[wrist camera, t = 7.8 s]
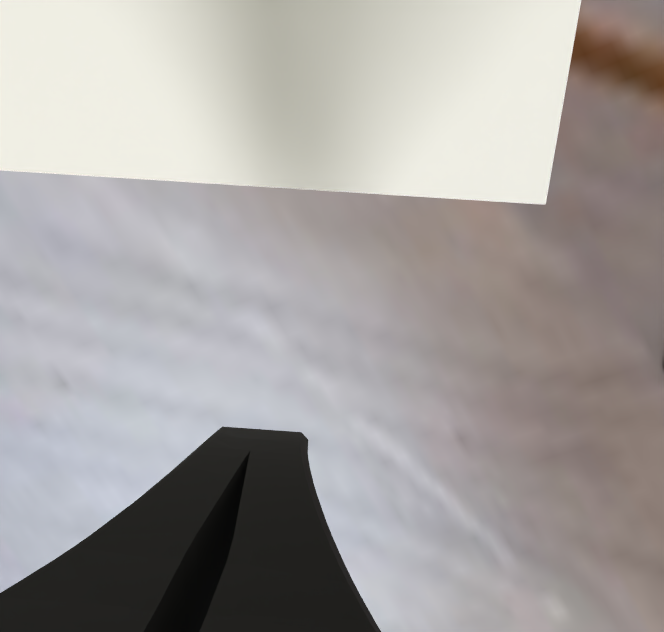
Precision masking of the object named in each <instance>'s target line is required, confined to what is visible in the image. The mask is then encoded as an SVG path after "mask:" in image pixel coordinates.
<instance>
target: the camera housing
mask: <svg viewBox="0 0 664 632" xmlns="http://www.w3.org/2000/svg"><path fill="white" fill-rule="evenodd" d="M580 4H581V0H0V170H3V171H19V172H35V173H51V174H67V175H83V176H99V177H115V178H131V179H147V180H163V181H178V182H194V183H210V184H226V185H242V186H258V187H274V188H290V189H306V190H322V191H338V192H354V193H370V194H386V195H402V196H417V197H433V198H449V199H465V200H481V201H497V202H513V203H529V204H546V199H547V193H548V187H549V182H550V176H551V170H552V164H553V159H554V153H555V147H556V142H557V136H558V130H559V124H560V119H561V113H562V107H563V101H564V96H565V90H566V84H567V79H568V73H569V67H570V61H571V56H572V50H573V44H574V39H575V33H576V27H577V21H578V16H579V10H580Z"/></svg>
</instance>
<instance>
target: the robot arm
mask: <svg viewBox="0 0 664 632" xmlns="http://www.w3.org/2000/svg"><path fill="white" fill-rule="evenodd" d="M307 452H308V439H307V438H306V437H305V436H304V435H303V434H302V433H301V432H289V431H275V430H261V429H247V428H233V427H222V428H220V429H219V430H218V431H217V432H215V433H214V434H213V435H212V436H211V437H210V438H208V439H207V440H206V441H205V442H204V443H203V444H202V445H200V446H199V447H198V448H197V449H196V450H195V451H194V452H193V453H191V454H190V455H189V456H188V457H187V458H186V459H185V460H184V461H182V462H181V463H180V464H179V465H178V466H177V467H176V468H174V469H173V470H172V471H171V472H170V473H169V474H167V475H166V476H165V477H164V478H163V479H162V480H160V481H159V482H158V483H157V484H156V485H154V486H153V487H152V488H151V489H150V490H148V491H147V492H146V493H145V494H144V495H142V496H141V497H140V498H139V499H138V500H136V501H135V502H134V503H133V504H131V505H130V506H129V507H127V508H126V509H125V510H123V511H122V512H121V513H119V514H118V515H117V516H115V517H114V518H113V519H111V520H110V521H109V522H107V523H106V524H105V525H103V526H102V527H101V528H99V529H98V530H97V531H95V532H94V533H93V534H91V535H90V536H89V537H87V538H86V539H84V540H83V541H81V542H80V543H79V544H77V545H76V546H74V547H73V548H71V549H70V550H68V551H67V552H65V553H64V554H62V555H61V556H59V557H58V558H56V559H55V560H53V561H52V562H50V563H48V564H47V565H45V566H44V567H42V568H40V569H39V570H37V571H36V572H34V573H32V574H31V575H29V576H27V577H26V578H24V579H23V580H21V581H19V582H18V583H16V584H15V585H13V586H11V587H10V588H8V589H6V590H5V591H3V592H1V593H0V632H381V631H380V629H379V628H378V626H377V624H376V623H375V621H374V619H373V617H372V615H371V614H370V612H369V610H368V608H367V607H366V605H365V603H364V601H363V599H362V598H361V596H360V594H359V592H358V590H357V588H356V586H355V584H354V583H353V581H352V579H351V577H350V574H349V572H348V570H347V568H346V566H345V564H344V562H343V560H342V558H341V555H340V553H339V551H338V549H337V546H336V544H335V542H334V540H333V537H332V535H331V532H330V530H329V527H328V525H327V522H326V519H325V517H324V514H323V511H322V508H321V505H320V502H319V499H318V497H317V494H316V490H315V487H314V483H313V479H312V475H311V471H310V467H309V461H308V453H307Z"/></svg>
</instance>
